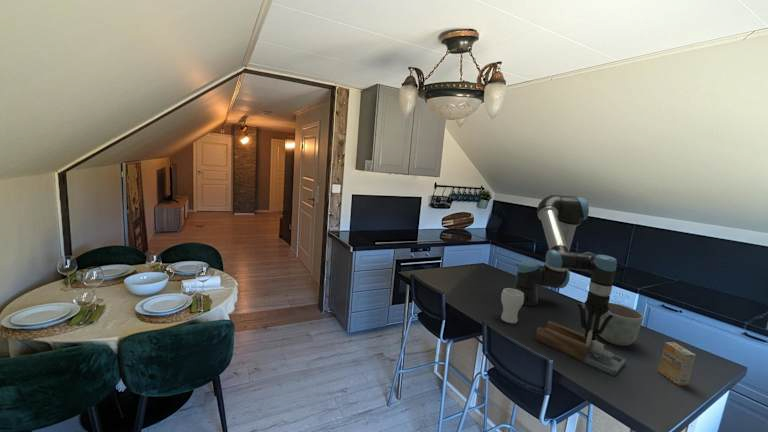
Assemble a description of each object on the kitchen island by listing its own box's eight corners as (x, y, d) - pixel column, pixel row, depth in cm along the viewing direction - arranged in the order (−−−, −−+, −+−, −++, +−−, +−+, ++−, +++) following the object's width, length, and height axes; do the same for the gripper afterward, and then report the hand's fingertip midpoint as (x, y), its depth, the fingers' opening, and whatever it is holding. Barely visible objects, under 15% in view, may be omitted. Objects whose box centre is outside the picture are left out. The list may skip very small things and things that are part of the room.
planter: (628, 336, 158) (634, 306, 155) (643, 354, 142) (650, 322, 139) (588, 328, 163) (594, 299, 160) (598, 345, 147) (604, 313, 144)
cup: (522, 326, 159) (526, 297, 156) (499, 322, 161) (503, 294, 158) (518, 316, 169) (522, 289, 167) (496, 313, 171) (500, 286, 169)
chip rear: (591, 347, 138) (593, 339, 137) (602, 353, 135) (604, 344, 134) (588, 350, 136) (590, 342, 135) (598, 356, 133) (601, 347, 132)
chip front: (603, 348, 135) (614, 353, 132) (600, 357, 136) (611, 362, 133) (600, 351, 132) (611, 357, 129) (597, 360, 133) (608, 365, 130)
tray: (595, 351, 141) (596, 346, 141) (624, 364, 133) (625, 359, 133) (583, 362, 132) (584, 357, 132) (614, 376, 124) (615, 371, 124)
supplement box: (657, 371, 130) (664, 341, 128) (668, 371, 130) (675, 341, 128) (677, 385, 122) (685, 354, 120) (688, 386, 122) (696, 354, 120)
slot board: (547, 331, 156) (549, 320, 155) (594, 351, 141) (597, 340, 140) (535, 339, 148) (537, 328, 147) (583, 361, 133) (586, 349, 132)
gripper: (578, 289, 135) (568, 341, 139) (615, 300, 126) (603, 356, 130) (584, 285, 140) (575, 336, 144) (620, 296, 131) (609, 350, 135)
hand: (588, 345), depth 137 cm, fingers closed
